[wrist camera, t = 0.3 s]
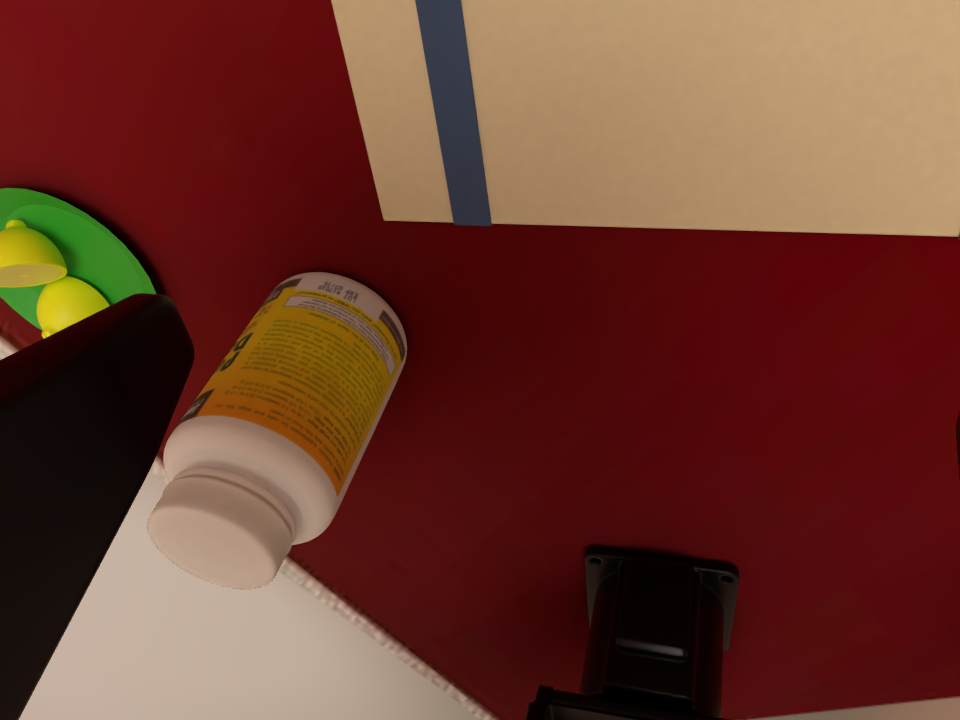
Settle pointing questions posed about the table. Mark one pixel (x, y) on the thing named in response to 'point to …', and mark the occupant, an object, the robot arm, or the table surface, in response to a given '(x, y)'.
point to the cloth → (662, 112)
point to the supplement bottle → (278, 430)
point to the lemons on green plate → (61, 262)
